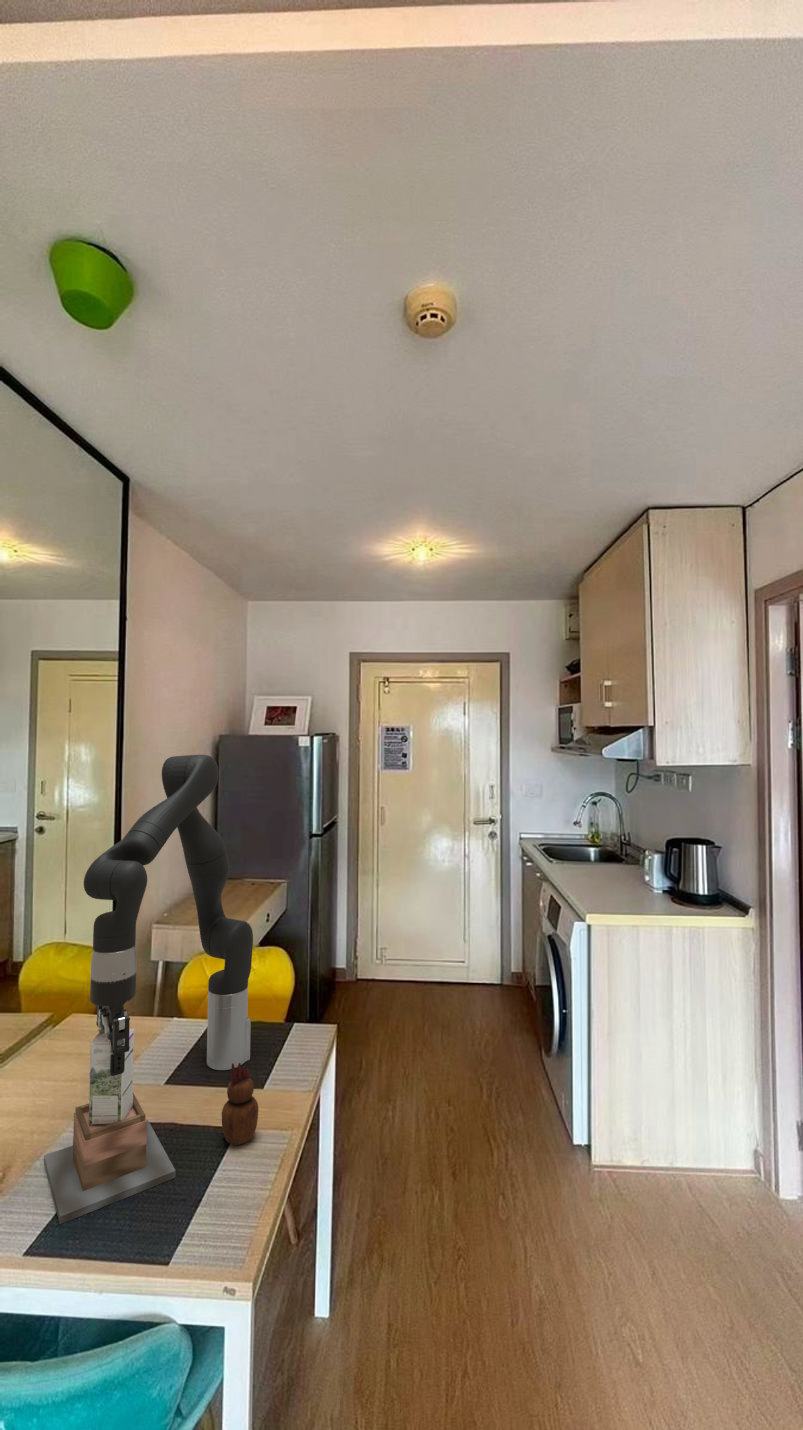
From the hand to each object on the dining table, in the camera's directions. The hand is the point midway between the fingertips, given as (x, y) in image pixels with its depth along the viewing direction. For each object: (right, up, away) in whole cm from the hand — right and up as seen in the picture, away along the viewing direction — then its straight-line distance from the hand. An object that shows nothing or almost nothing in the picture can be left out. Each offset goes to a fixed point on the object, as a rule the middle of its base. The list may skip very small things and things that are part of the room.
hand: (111, 1063), depth 112 cm
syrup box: (0, -10, 0) cm, 10 cm away
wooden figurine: (+21, -19, +8) cm, 30 cm away
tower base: (0, -19, -1) cm, 19 cm away
